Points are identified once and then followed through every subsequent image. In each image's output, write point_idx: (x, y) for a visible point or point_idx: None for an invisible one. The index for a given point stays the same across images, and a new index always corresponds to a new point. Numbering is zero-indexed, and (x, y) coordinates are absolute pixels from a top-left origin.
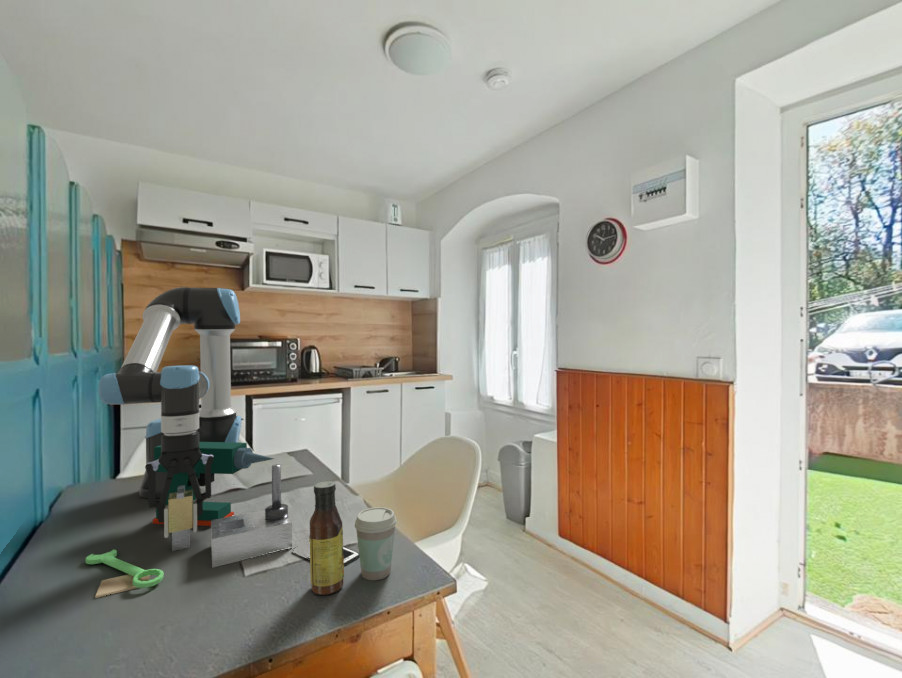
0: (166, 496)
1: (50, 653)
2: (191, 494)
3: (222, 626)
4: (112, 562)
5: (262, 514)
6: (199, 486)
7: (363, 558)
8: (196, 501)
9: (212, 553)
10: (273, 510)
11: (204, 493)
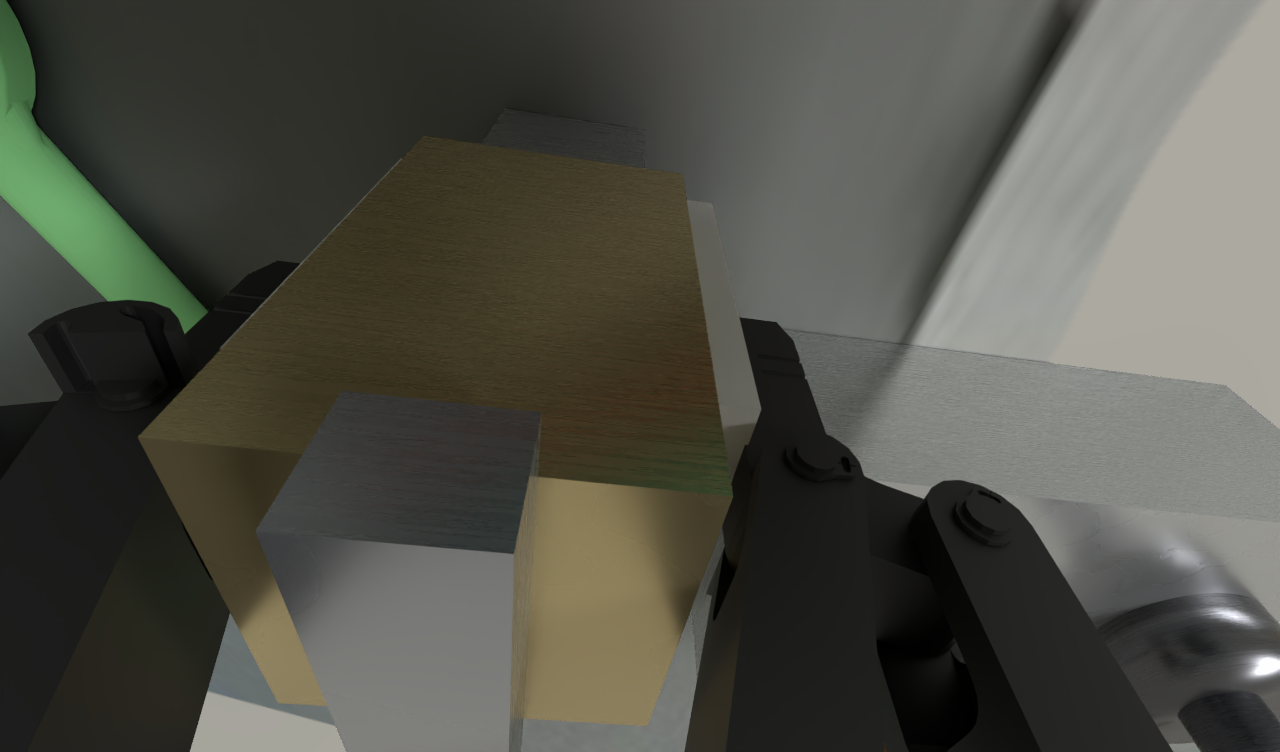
0: (189, 701)
1: (239, 674)
2: (646, 683)
3: (637, 745)
4: (107, 298)
5: (1147, 579)
6: (872, 691)
7: None
8: (732, 468)
9: (693, 606)
10: (1157, 724)
11: (880, 602)
